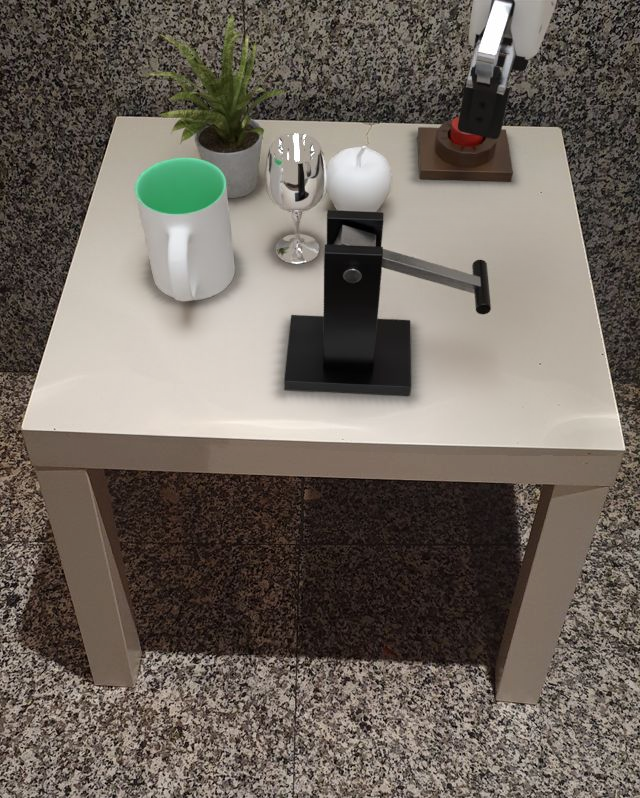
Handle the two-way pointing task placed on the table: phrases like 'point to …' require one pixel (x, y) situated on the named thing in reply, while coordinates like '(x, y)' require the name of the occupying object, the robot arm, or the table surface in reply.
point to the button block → (462, 157)
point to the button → (463, 136)
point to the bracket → (350, 323)
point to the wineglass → (296, 189)
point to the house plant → (222, 115)
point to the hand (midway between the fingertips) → (493, 98)
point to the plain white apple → (358, 180)
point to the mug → (186, 227)
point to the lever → (426, 268)
